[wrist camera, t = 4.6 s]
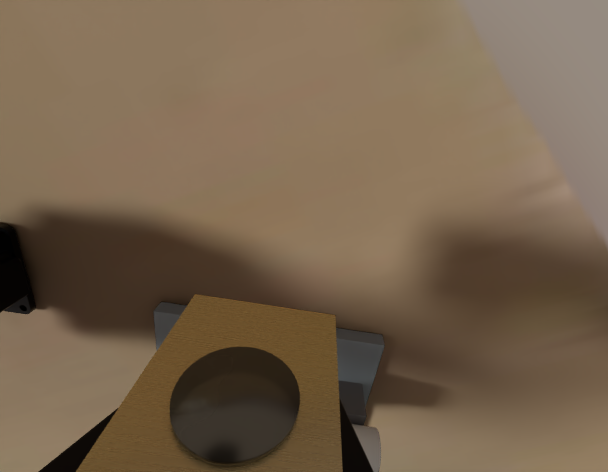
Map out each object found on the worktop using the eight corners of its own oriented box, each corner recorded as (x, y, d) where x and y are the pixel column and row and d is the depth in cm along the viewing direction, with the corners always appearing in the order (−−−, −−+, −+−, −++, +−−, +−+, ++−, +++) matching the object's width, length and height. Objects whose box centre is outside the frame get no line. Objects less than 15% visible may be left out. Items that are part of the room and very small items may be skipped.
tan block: (311, 423, 11) (296, 769, 5) (196, 406, 11) (58, 733, 5) (336, 310, 9) (354, 676, 3) (195, 289, 9) (-30, 616, 3)
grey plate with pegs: (167, 403, 25) (122, 491, 19) (161, 301, 21) (101, 376, 15) (352, 431, 25) (360, 527, 19) (381, 334, 21) (403, 421, 15)
